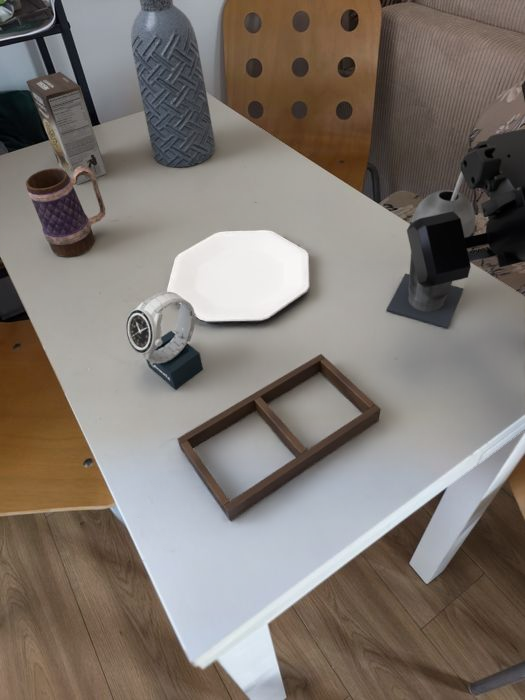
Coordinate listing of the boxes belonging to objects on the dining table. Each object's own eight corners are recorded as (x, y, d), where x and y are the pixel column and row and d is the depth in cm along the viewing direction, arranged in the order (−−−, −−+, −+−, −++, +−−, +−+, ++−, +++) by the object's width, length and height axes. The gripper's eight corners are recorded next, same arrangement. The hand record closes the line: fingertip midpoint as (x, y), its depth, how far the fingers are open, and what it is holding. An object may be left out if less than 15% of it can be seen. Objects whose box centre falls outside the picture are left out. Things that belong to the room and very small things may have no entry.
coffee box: (58, 167, 101) (24, 80, 89) (88, 156, 103) (60, 69, 91) (76, 186, 96) (43, 95, 84) (108, 173, 98) (80, 84, 86)
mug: (53, 263, 80) (21, 193, 71) (49, 238, 85) (19, 170, 76) (118, 245, 82) (95, 176, 73) (111, 222, 87) (89, 154, 78)
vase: (224, 140, 104) (203, -31, 83) (201, 171, 96) (171, -9, 75) (169, 136, 107) (135, -30, 86) (143, 165, 99) (98, -9, 78)
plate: (161, 329, 69) (158, 321, 67) (183, 240, 82) (181, 232, 81) (310, 326, 67) (310, 318, 66) (308, 236, 80) (308, 228, 79)
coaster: (463, 290, 70) (463, 288, 69) (447, 329, 65) (448, 327, 65) (404, 275, 72) (405, 273, 72) (386, 311, 68) (386, 309, 68)
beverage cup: (392, 284, 71) (413, 143, 56) (445, 279, 71) (481, 137, 56) (404, 321, 66) (431, 177, 51) (461, 316, 66) (505, 171, 51)
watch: (135, 375, 63) (110, 310, 55) (186, 340, 67) (169, 273, 59) (163, 400, 61) (140, 335, 52) (214, 362, 64) (200, 295, 56)
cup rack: (379, 420, 57) (381, 408, 55) (230, 522, 50) (227, 512, 48) (320, 365, 62) (321, 353, 61) (180, 449, 56) (176, 438, 54)
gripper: (645, 94, 42) (524, 161, 58) (434, 137, 40) (367, 194, 55) (672, 229, 43) (544, 258, 58) (465, 278, 40) (390, 295, 56)
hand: (463, 249), depth 57 cm, fingers open, 9 cm apart
